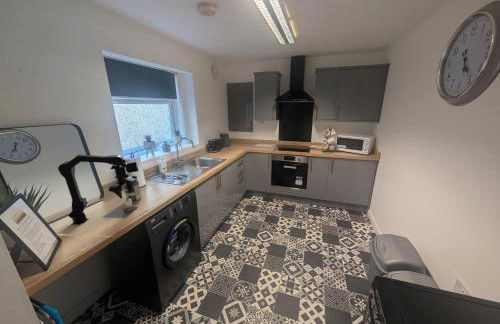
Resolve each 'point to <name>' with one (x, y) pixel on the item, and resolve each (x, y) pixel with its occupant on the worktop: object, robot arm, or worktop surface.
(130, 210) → the base
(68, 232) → the worktop surface
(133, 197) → the coffee can
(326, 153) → the worktop surface
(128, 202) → the cap
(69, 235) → the worktop surface
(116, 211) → the board
